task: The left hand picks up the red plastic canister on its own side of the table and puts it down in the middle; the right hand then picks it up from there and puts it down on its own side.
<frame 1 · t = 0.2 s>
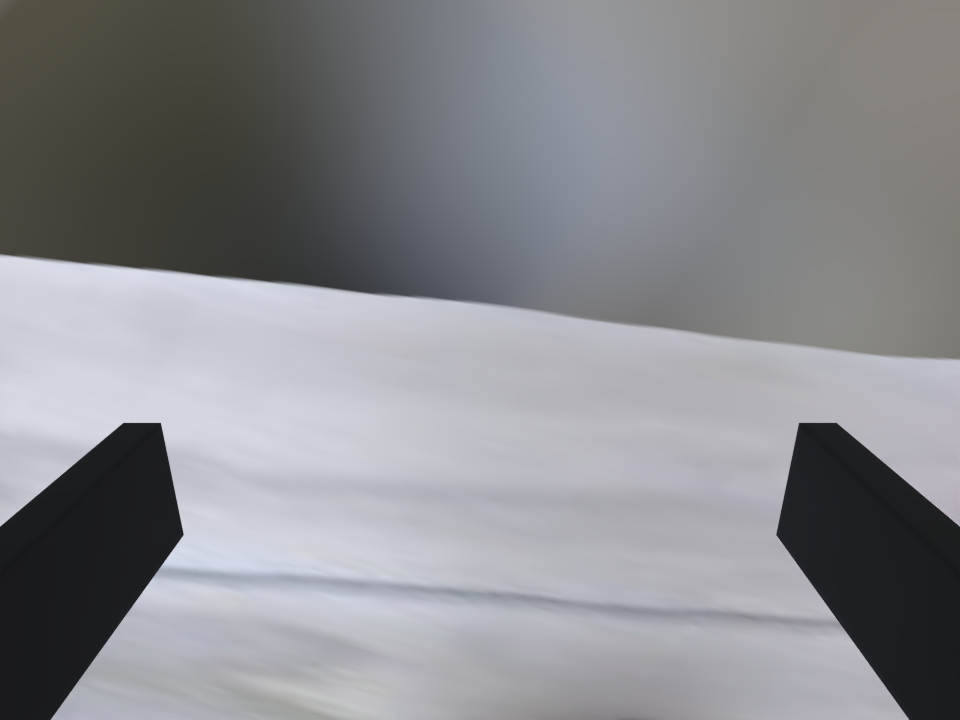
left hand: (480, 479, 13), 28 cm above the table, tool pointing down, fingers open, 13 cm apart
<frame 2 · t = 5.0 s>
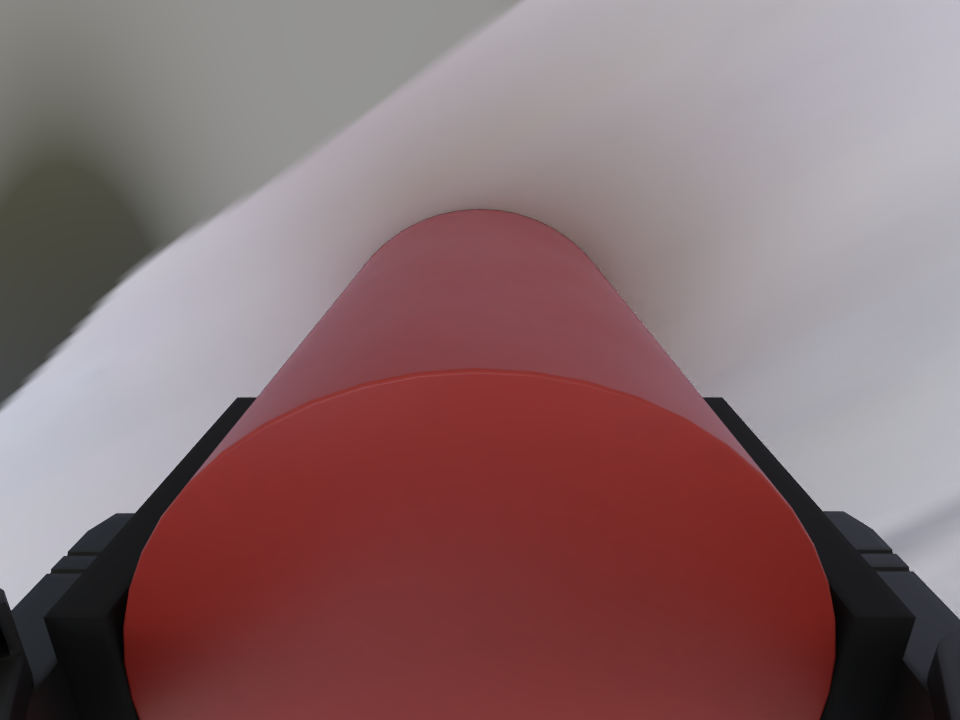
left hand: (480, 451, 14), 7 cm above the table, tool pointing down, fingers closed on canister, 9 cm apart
canister: (479, 352, 20), on the table, touching left hand
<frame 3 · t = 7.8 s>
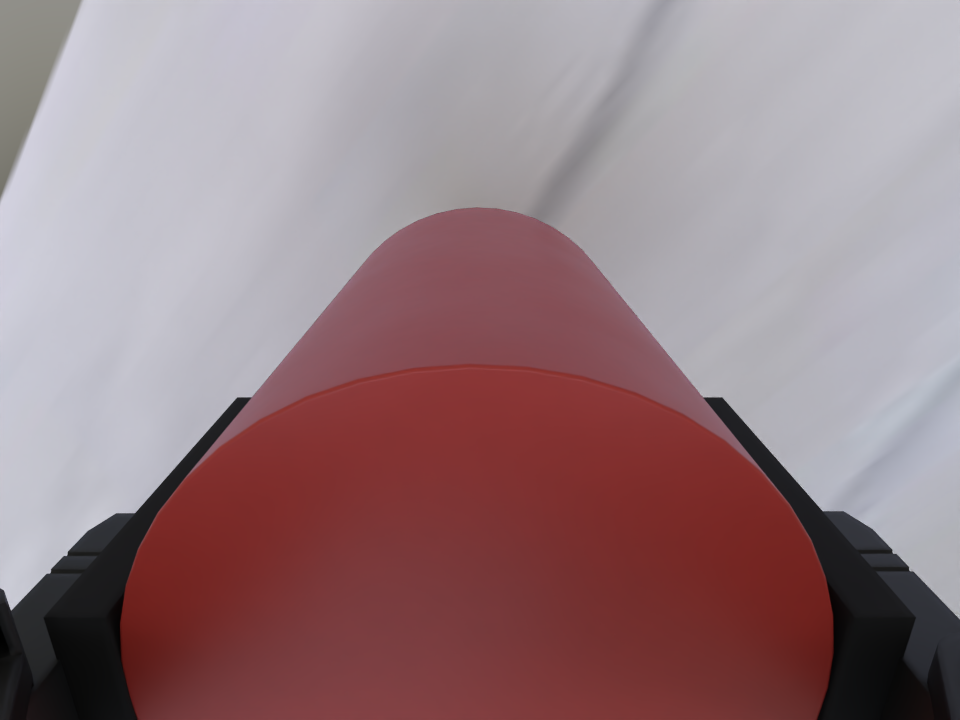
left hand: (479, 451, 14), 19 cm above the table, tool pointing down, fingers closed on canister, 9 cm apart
canister: (478, 351, 20), point 13 cm above the table, touching left hand
when the left hand's fingers open (8 cm above the table, at t = 11.1 s): canister stays where it is, on the table.
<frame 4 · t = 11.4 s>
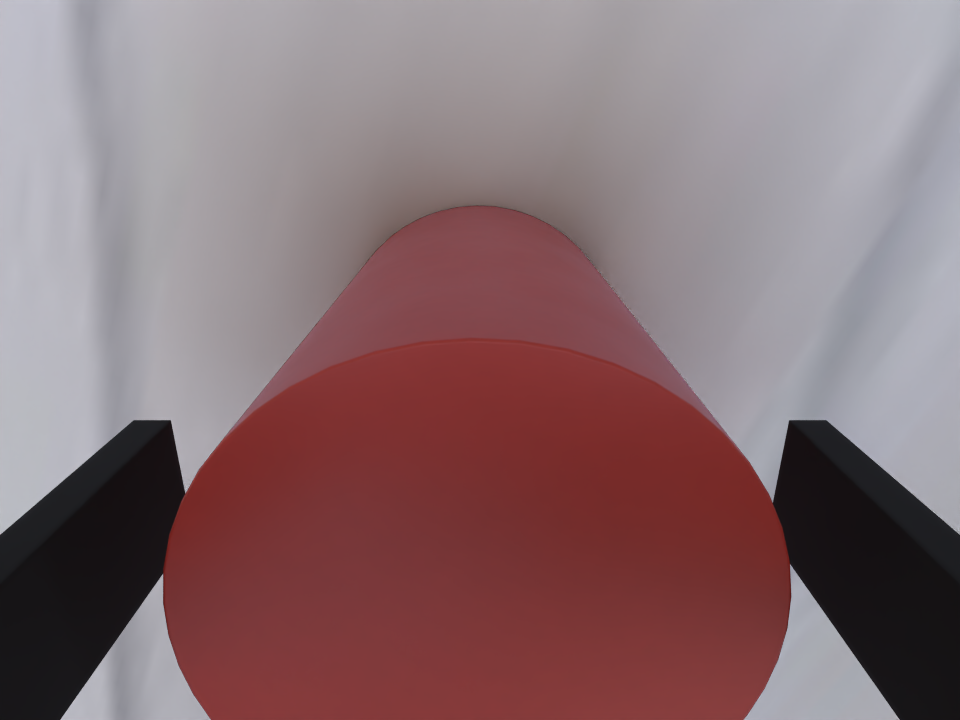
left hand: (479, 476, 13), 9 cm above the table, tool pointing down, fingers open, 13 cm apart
canister: (478, 342, 21), on the table
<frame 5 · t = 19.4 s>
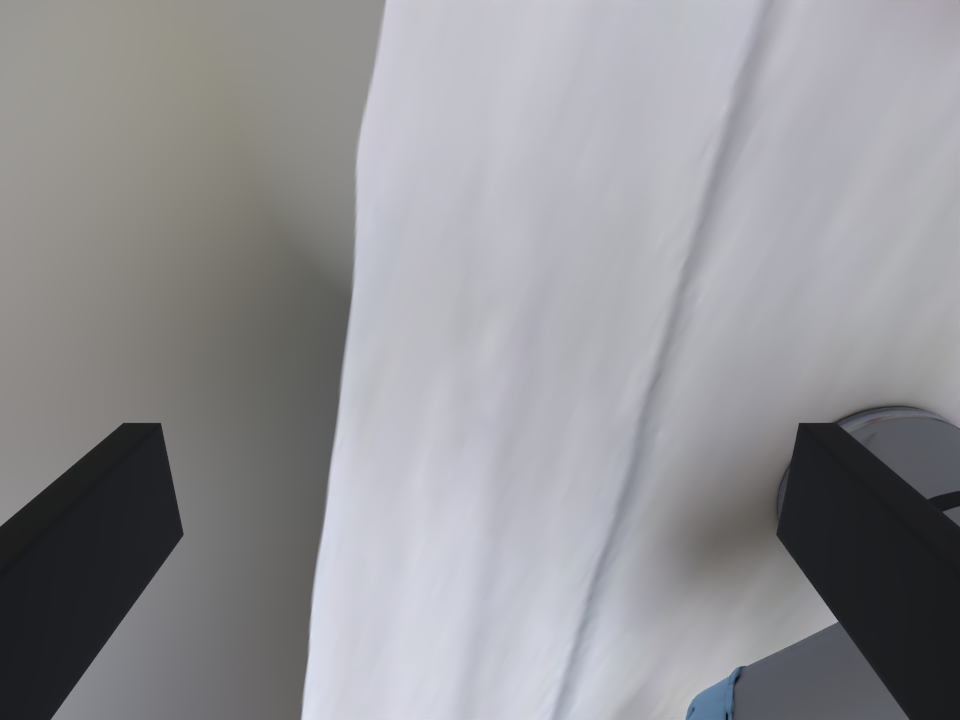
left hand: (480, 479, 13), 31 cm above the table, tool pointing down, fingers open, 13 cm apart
when the right hand's fingers open (8 cm above the table, at t = 25.0 s): canister drops 1 cm, on the table.
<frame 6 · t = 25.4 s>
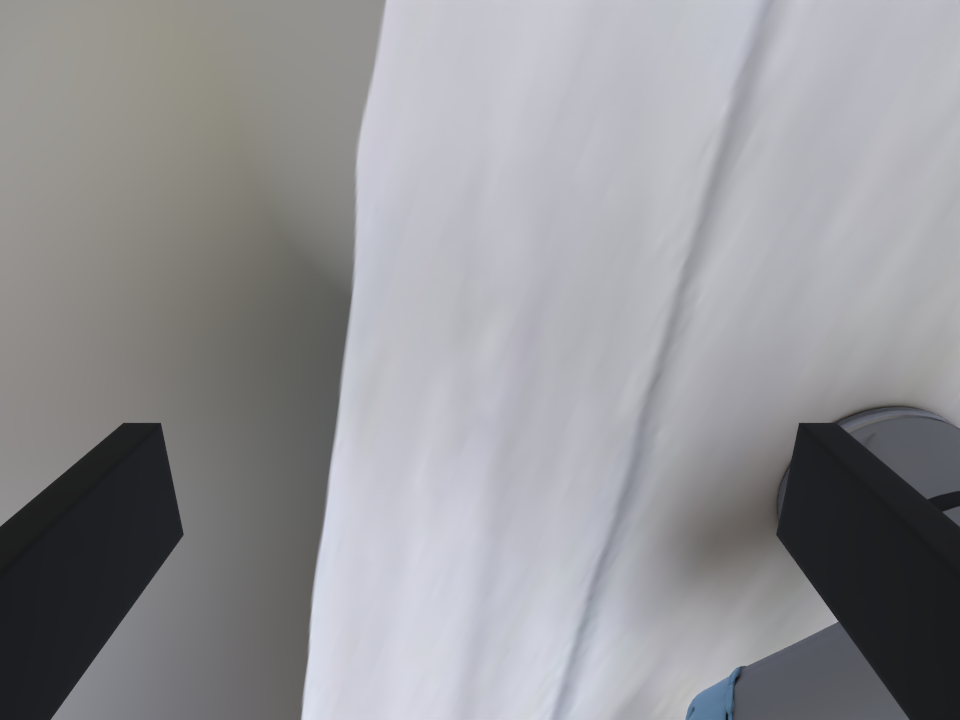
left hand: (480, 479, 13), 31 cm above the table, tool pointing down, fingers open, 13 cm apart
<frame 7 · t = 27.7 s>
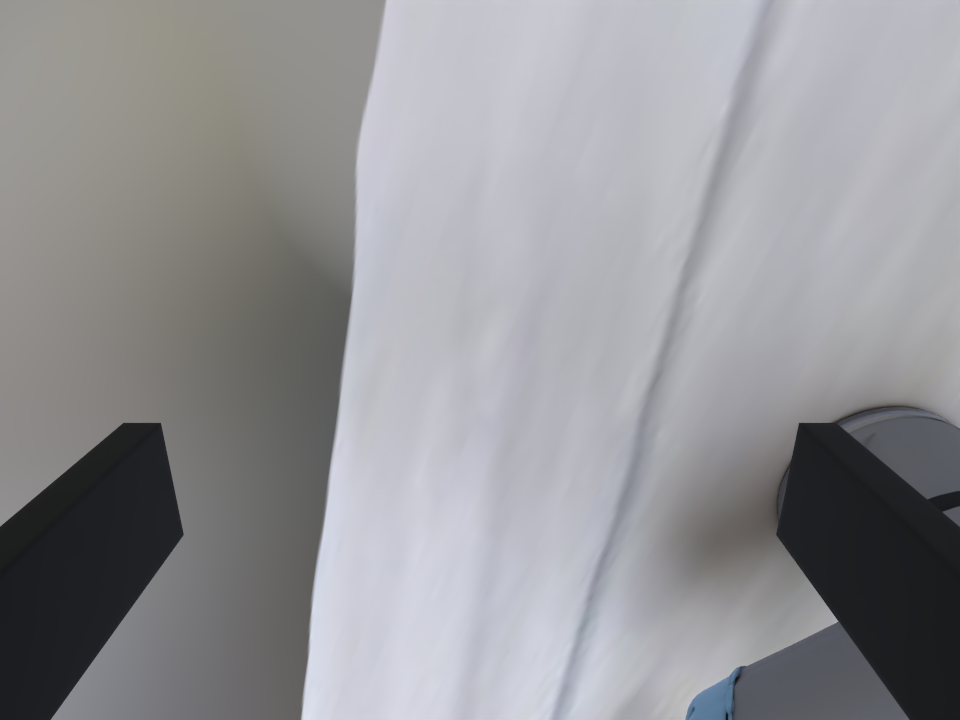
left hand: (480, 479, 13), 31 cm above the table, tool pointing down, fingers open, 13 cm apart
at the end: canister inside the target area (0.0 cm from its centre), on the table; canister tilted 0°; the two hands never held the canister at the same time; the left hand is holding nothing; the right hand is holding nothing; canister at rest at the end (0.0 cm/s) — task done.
